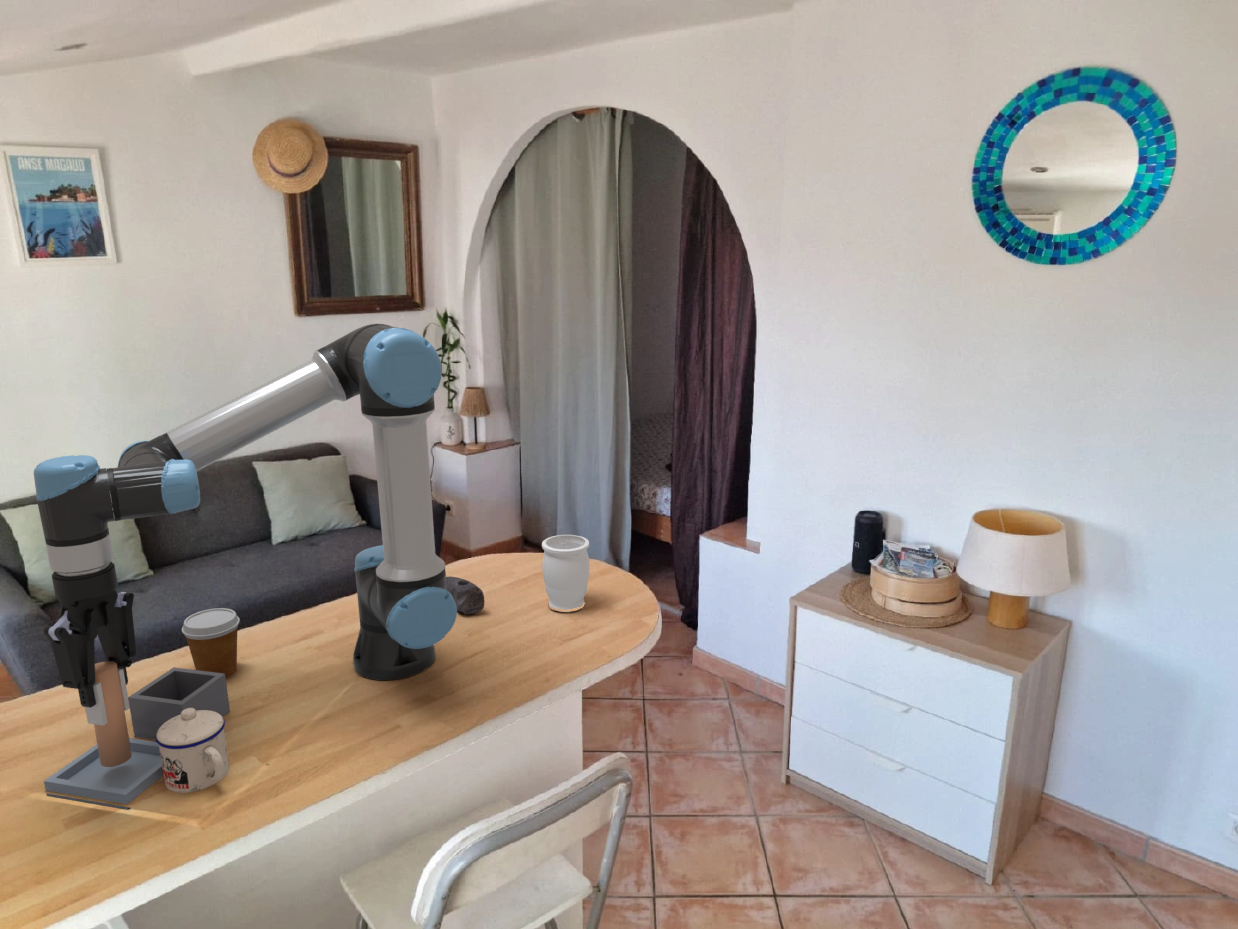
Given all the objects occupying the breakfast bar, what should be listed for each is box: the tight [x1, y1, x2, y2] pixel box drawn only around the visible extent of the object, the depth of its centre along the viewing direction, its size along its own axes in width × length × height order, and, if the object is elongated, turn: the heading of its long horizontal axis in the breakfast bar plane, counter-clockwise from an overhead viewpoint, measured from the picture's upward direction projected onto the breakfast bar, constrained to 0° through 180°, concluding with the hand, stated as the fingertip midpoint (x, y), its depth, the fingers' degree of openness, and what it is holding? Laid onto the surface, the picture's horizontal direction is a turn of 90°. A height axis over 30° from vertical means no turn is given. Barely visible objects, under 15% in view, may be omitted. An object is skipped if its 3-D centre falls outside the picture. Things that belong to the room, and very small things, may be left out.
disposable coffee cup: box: [181, 607, 241, 679], centre depth 153 cm, size 10×10×12 cm
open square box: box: [128, 667, 231, 741], centre depth 137 cm, size 10×10×8 cm
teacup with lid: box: [155, 708, 230, 793], centre depth 122 cm, size 12×9×12 cm
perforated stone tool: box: [446, 576, 485, 615], centre depth 183 cm, size 15×5×7 cm, turn 41°
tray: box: [43, 737, 164, 811], centre depth 125 cm, size 14×12×2 cm
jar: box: [541, 534, 590, 610], centre depth 183 cm, size 11×10×15 cm
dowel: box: [93, 660, 132, 767], centre depth 122 cm, size 4×4×15 cm
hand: (109, 715), depth 122 cm, fingers closed on dowel, 3 cm apart
